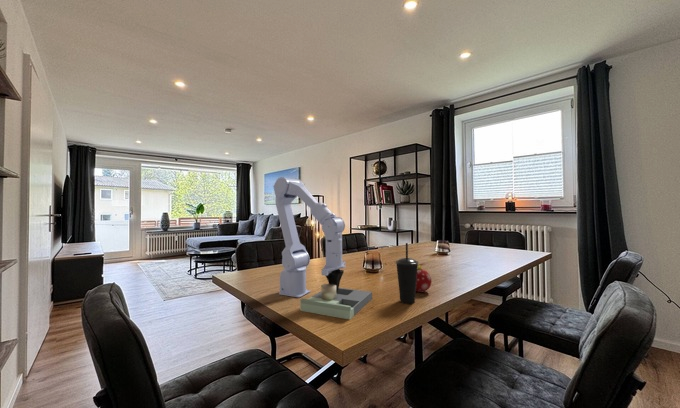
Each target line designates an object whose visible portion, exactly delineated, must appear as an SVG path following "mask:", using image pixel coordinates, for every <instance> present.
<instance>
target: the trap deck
mask: <svg viewBox="0 0 680 408" xmlns="http://www.w3.org/2000/svg"><path fill="white" fill-rule="evenodd" d="M372 299H373V291H371V290H370V291H368V290H362V289H355V288H354V289H353V288H346V287H339V289H338V292H336V299H334V300H323V299H321V291H319V292H317V293H315V294H314V295H312V296H310V297H309V298H300V301H299V302H300V303H299V304H300V309H299V311H301V312H306V313H310V314H311V313H312V314H317V315H323V316H327V317H332V318H333V317H334V318H340V319H345V320H351V319H352V318H354V317H355V316H356V315H357V314H358V313H359V312H360V311H361V310H362V309H363V308H364V307H365V306H367V304H368V303H369V302H370V301H371V300H372Z"/></svg>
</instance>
